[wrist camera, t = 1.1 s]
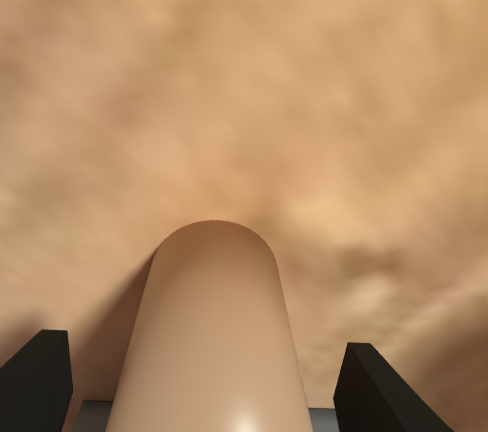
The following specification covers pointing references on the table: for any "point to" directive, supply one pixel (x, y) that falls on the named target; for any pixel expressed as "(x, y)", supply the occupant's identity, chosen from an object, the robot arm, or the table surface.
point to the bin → (97, 413)
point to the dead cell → (211, 341)
